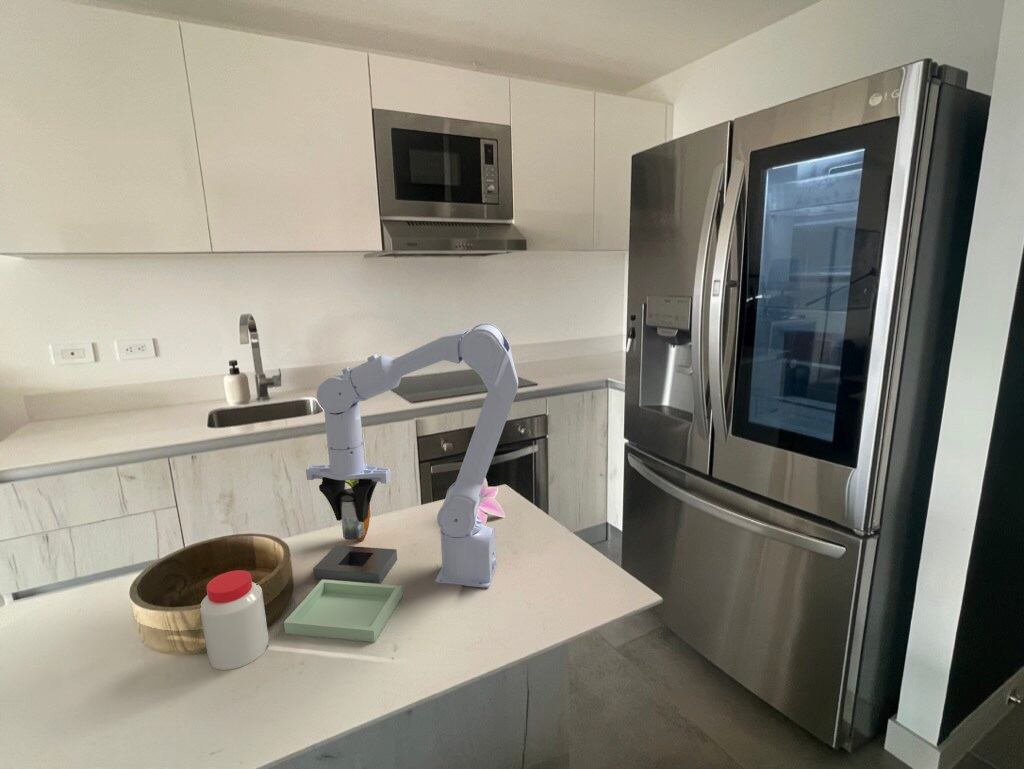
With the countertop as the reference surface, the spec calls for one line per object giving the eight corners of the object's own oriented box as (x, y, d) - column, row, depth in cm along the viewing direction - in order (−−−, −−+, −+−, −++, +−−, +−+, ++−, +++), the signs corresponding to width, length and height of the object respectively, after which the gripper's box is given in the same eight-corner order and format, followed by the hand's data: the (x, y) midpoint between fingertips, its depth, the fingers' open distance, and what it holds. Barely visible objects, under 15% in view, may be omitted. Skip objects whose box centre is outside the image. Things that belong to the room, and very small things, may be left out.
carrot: (369, 548, 102) (363, 476, 98) (344, 549, 102) (337, 476, 98) (376, 536, 106) (370, 466, 103) (352, 536, 106) (345, 466, 103)
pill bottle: (257, 624, 80) (248, 559, 78) (277, 649, 75) (268, 580, 72) (201, 650, 75) (189, 581, 73) (218, 679, 69) (206, 605, 67)
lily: (451, 538, 107) (470, 504, 103) (438, 496, 116) (454, 464, 112) (501, 539, 113) (520, 508, 110) (484, 500, 122) (501, 470, 118)
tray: (402, 598, 86) (401, 585, 85) (375, 645, 75) (373, 630, 75) (323, 592, 88) (322, 579, 87) (285, 636, 77) (283, 622, 77)
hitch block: (397, 562, 97) (396, 549, 96) (380, 587, 89) (378, 573, 88) (336, 557, 99) (335, 545, 98) (314, 582, 91) (313, 568, 90)
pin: (367, 530, 94) (364, 488, 92) (358, 540, 90) (354, 497, 88) (349, 529, 94) (345, 487, 92) (339, 539, 91) (335, 496, 89)
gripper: (395, 438, 91) (400, 510, 94) (318, 436, 94) (325, 506, 96) (378, 452, 84) (384, 529, 87) (296, 449, 87) (304, 524, 90)
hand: (352, 518), depth 91 cm, fingers closed on pin, 4 cm apart
